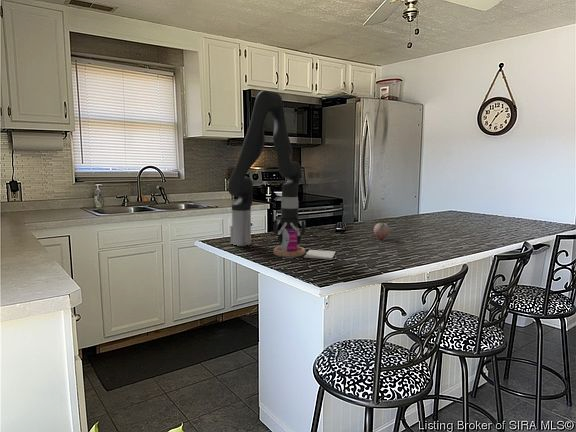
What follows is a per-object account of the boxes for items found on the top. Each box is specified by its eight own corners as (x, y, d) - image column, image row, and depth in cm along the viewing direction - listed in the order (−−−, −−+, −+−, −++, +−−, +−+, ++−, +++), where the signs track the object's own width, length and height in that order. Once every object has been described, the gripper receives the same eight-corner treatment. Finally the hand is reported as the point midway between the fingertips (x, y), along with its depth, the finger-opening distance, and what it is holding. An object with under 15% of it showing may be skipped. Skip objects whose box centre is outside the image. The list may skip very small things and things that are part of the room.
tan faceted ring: (270, 255, 179) (270, 251, 179) (278, 249, 192) (278, 245, 192) (301, 257, 176) (301, 252, 176) (306, 250, 189) (307, 246, 189)
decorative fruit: (391, 241, 213) (392, 222, 212) (375, 241, 213) (376, 222, 212) (387, 238, 223) (388, 219, 221) (372, 237, 223) (372, 219, 221)
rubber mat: (304, 257, 176) (304, 256, 176) (309, 251, 189) (309, 249, 188) (332, 259, 173) (332, 257, 173) (335, 252, 186) (335, 251, 186)
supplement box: (284, 255, 181) (284, 229, 179) (281, 252, 186) (281, 227, 185) (297, 254, 182) (297, 228, 181) (293, 251, 188) (293, 226, 186)
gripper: (271, 207, 179) (271, 244, 181) (304, 208, 176) (303, 245, 178) (276, 205, 187) (276, 240, 189) (307, 206, 183) (306, 242, 186)
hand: (289, 243), depth 183 cm, fingers closed on supplement box, 7 cm apart
